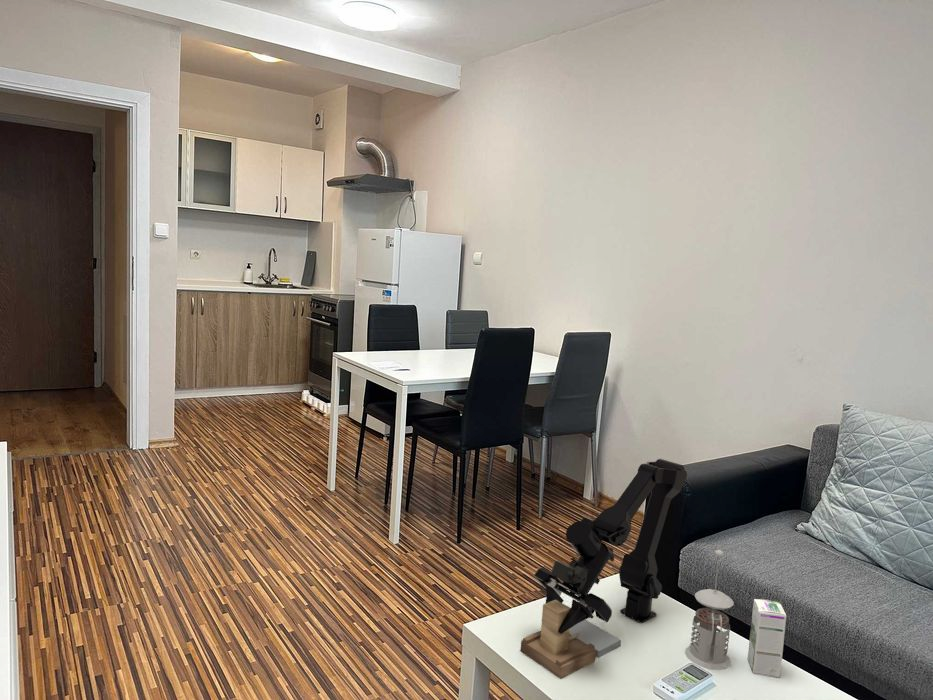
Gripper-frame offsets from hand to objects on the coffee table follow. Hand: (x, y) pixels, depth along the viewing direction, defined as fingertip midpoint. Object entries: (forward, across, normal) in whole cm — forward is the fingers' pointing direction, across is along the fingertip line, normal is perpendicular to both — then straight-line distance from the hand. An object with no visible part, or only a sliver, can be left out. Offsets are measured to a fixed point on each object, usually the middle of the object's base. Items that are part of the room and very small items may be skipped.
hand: (551, 627), depth 144 cm
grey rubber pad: (-4, 0, +15) cm, 16 cm away
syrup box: (-21, +29, +32) cm, 48 cm away
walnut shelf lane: (+3, 0, +7) cm, 8 cm away
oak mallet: (0, 0, +7) cm, 7 cm away
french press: (-16, +20, +27) cm, 37 cm away
